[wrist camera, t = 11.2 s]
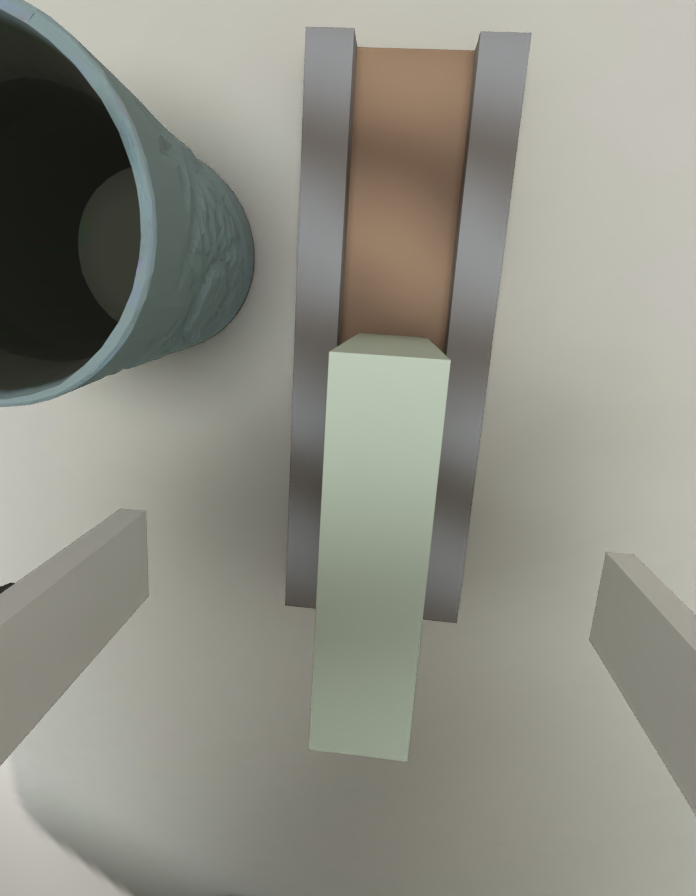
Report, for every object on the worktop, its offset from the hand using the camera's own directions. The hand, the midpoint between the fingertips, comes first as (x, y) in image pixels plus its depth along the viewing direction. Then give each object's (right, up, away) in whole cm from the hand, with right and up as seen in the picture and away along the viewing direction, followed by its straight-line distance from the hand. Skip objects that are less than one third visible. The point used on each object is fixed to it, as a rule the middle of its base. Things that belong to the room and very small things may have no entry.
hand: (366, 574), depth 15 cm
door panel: (+1, +3, +10) cm, 10 cm away
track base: (+1, +8, +10) cm, 13 cm away
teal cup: (-9, +13, +10) cm, 18 cm away
